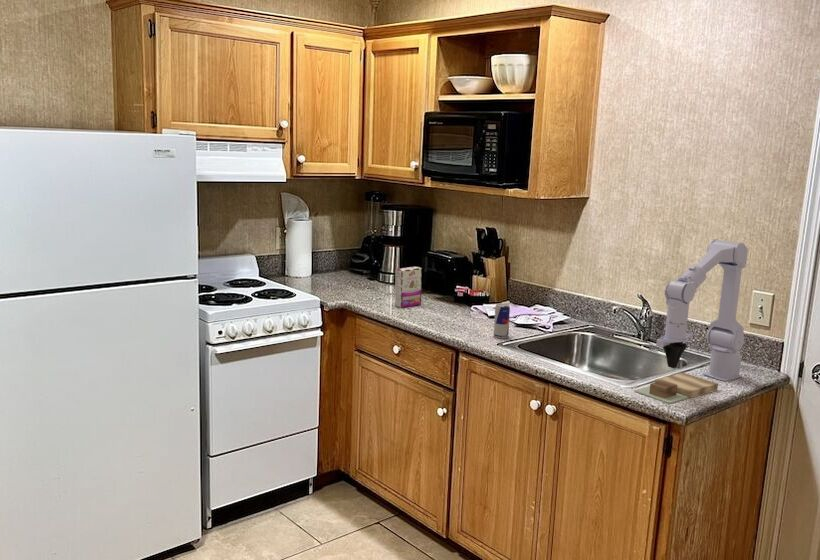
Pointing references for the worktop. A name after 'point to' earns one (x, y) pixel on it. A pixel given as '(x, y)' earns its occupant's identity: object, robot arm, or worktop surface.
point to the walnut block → (663, 389)
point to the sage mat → (667, 400)
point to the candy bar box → (408, 287)
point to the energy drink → (501, 321)
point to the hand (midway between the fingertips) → (672, 367)
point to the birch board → (690, 384)
